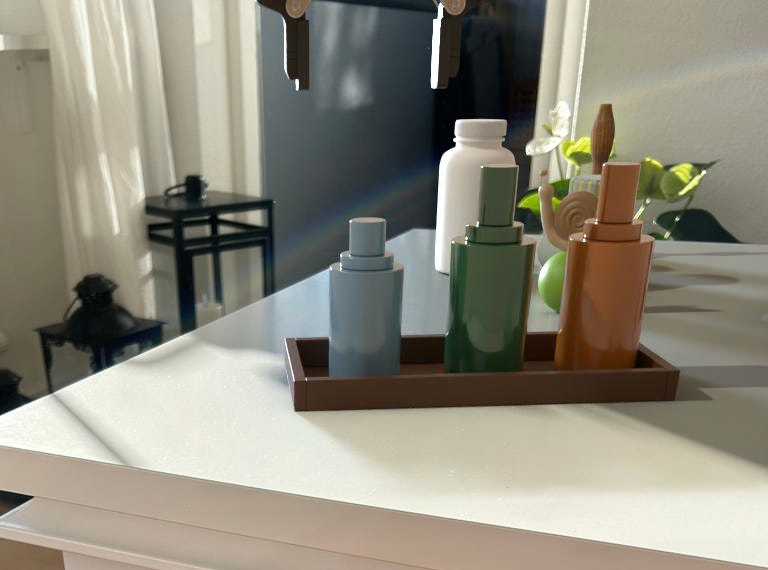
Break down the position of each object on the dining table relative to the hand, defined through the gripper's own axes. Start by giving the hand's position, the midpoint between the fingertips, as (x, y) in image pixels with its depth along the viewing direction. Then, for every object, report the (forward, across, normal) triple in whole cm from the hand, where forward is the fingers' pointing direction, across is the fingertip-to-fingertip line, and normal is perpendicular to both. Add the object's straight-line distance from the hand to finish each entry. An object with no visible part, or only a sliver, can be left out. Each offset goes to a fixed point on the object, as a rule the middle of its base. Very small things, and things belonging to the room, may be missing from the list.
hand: (371, 89), depth 63 cm
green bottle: (+18, +8, 0) cm, 20 cm away
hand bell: (+20, +33, +54) cm, 66 cm away
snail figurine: (+20, +21, +25) cm, 38 cm away
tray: (+19, +7, 0) cm, 21 cm away
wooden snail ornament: (+20, +28, +39) cm, 52 cm away
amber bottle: (+18, +16, 0) cm, 25 cm away
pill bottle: (+20, +17, +46) cm, 53 cm away
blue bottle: (+18, 0, 0) cm, 19 cm away
